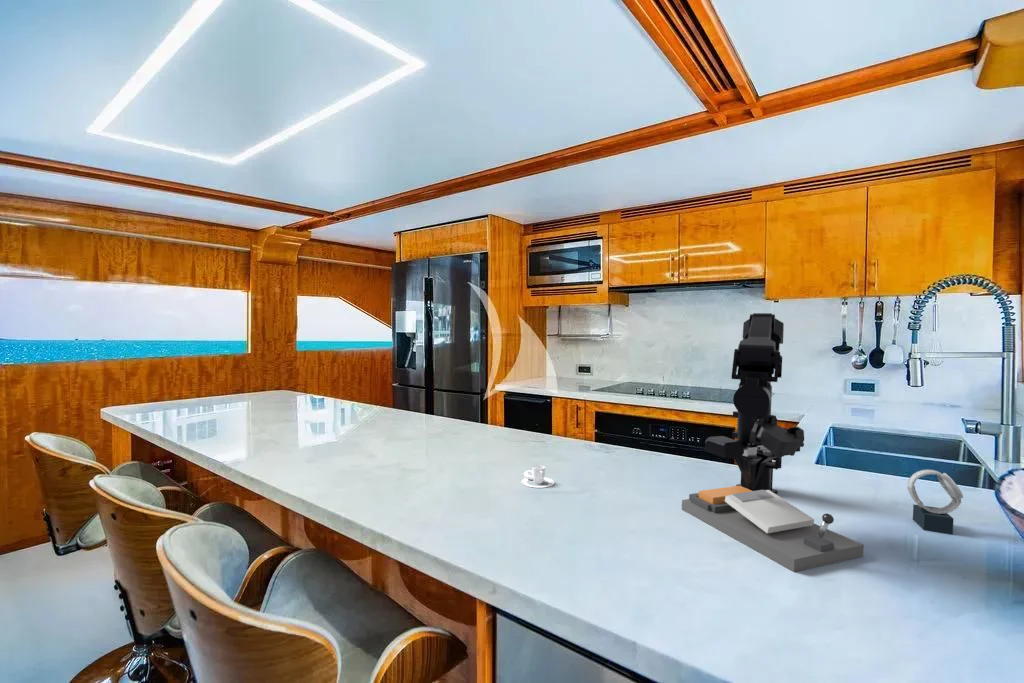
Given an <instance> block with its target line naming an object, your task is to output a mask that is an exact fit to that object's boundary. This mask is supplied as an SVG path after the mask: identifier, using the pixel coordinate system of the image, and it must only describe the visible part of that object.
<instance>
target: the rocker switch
mask: <svg viewBox="0 0 1024 683" xmlns="http://www.w3.org/2000/svg"><path fill="white" fill-rule="evenodd" d="M725 502H726V503H728V504H729V505H730V506H732V507H733V508H734V509H736V510H737V511H738V512H740V513H741V514H742V515H744V516H745V517H746V518H747V519H749V520H750V521H751V522H753V523H754V524H755V525H757V526H758V527H759V528H761V529H762V530H763V531H765V532H766V533H773V532H778V531H784V530H789V529H795V528H800V527H806V526H812V525H813V523H814V524H815V518H813V517H811V515H808V514H807V513H805V512H803V511H802V510H801V509H800V508H798V507H796V506H794V505H793V504H791V503H790V502H788V501H787V500H785V499H784V498H782V497H780V496H779V495H778V494H777V493H773V492H771V491H770V490H758V491H750V492H743V493H736V494H732V495H728V496H726V497H725Z"/></svg>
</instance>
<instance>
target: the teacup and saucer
mask: <svg viewBox="0 0 1024 683" xmlns="http://www.w3.org/2000/svg"><path fill="white" fill-rule="evenodd" d="M545 474H546V466H544V465H538V464H537V465H533V466H532V467H531V470H530V469H528V470H526V471H524V472H523V476H524V478H523V479H522V480H521V484H523V485H524V486H526V487H528V488H529V487H530V488H536V489H542V488H543V489H545V488H549V487H552V486H554V484H555V481H554V480H553V479H552V478H550V477H545ZM528 481H533V483H534V484H537V485H533V484H532V485H531V484H529V483H528ZM544 481H546V482H548V484H546V485H543V483H544ZM541 484H542V485H541ZM538 485H539V486H538Z"/></svg>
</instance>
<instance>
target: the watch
mask: <svg viewBox="0 0 1024 683" xmlns="http://www.w3.org/2000/svg"><path fill="white" fill-rule="evenodd" d="M929 475H936V476H937V480H938V483H939V484H940V486H941V487H942V488H943V490H944V491H945V493H946V494H947V495H949V496H950V497H949V498H950V499H951V501H950V502H949V503H948V504H946V505H945V506H943V507H935V506H928V505H924V502H923V501H922V500H921V499H920V498H919V497H920V496H919V494H918V493H917V490H916V486H915V483H916V482H917V480H919V479H920V478H922V477H925V476H929ZM907 490H908V493H909V495H910V497H911V498H912V500H913V501H914V503H915V504H913V506H912V507H913V508H912V520H913V522H915V523H916V524H917V526H919V527H920V528H921V529H922V530H923V531H926V532H933V533H939V534H947V535H953V532H954V519H955V518H954V517H952V516H951V515H950V514H949V513H951V512H952V513H953V512H954V511H955V510H957V509H958V508H959V506H961V504H962V499H964V494H963V492H962V490H961V489H960V488H959V486H958V484H957V483H956V482H955V481H954V479H952V477H951V476H950V475H948V474H947V473H946V472H943V473H942V472H940V471H938V470H937V469H936V470H935V469H930V468H929V469H922V470H918V471H915V472H914V473H913V474H912V475H911V476H910V477H909V478H908V481H907Z"/></svg>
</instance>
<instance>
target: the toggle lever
mask: <svg viewBox="0 0 1024 683" xmlns="http://www.w3.org/2000/svg"><path fill="white" fill-rule="evenodd" d="M821 519H822V522H821V525H819V526H820V528H819V530H818V533H817V536H818V537H819V538H822V537H823V536H824V534H825V532H826V530H827V529H828V527H829V525H831V524H833V523H834V521H835V520H834V519H835V518H834V516H833V515H832V514H830V513H824V514H822V517H821Z"/></svg>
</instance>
